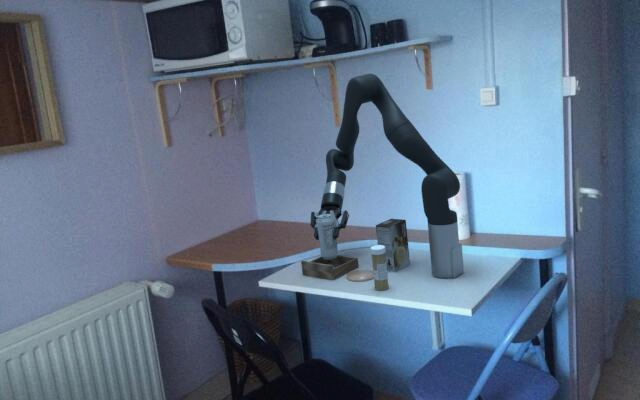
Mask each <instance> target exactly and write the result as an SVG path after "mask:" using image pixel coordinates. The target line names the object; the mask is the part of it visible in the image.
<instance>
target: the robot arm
mask: <svg viewBox="0 0 640 400" xmlns="http://www.w3.org/2000/svg"><path fill="white" fill-rule="evenodd" d="M345 90H346V91H345V95H344V103H343V111H342V118H341V119H342V120H341V125H340V127H339V131H338V134H337V137H336V139H335V145H336V148H337V149H336V148H331V149H329V150H328V151H327V153H326V155H325V164H326V166H325V167H326V170H327V171H326V172H327V173H326V174H327V177H326V180H325V186H324V189H323V193H322V199H321V203H320V210H319V211H317V212H315V211H311V212H310V224H309V225H310V227H311V228H312V230H313V231H314V232H313V237H314V238H315V240H316V241H319V237H318V229H317V222H316V221H317V219H318V216H319V215H322V214H331V216H332V217H333V219H334V225H335V228H334V232H333V238H334V240H337V239H338V238H339V236H340V231H341V230H342V229H343V230H344V229H346V228H347V224H348V221H349V217H350V212H349V211H348V210H347V209H346V210H344V211H343V210H342V209H343V204H344V198H345V189H346V183H347V182H346V181H347V174H346V173H345V172H348V171H350V170H352V168H353V167H354V163H355V155H354V154H355V146H356V144H357V140H358V139H359V134H360V123H359V121H358V120H359V119H358V113H359V111H360V109H361V106H362V105H363V104H368V103H370V102H371V103H372V104H373V105H374V106H375V107H376V109H377V110H378V112H379V113H380V114H381V119H382V126H383V132H384V136H385V137H386V139H387V140H388V142H389V143H390V145H391V146H392V147H393V149H395V151H396V152H397V153H398V154H400V155H401V156H402V157H404V158H406V159H407V160H409V161H410V162H412V163H414V164H415V165H417V166H418V167H420V169H422V171H423V172H424V173H425V174H426V175H425V176H424V178H423V179H422V181H421V185H420V186H421V198H422V207H423V211H424V215H425V217H426V220H427V229H428V242H429V255H430V266H431V267H430V269H431V275H432V276H433V277H435V278H440V279H452V278H453V279H456V278H457V277H458V276H460V275H462V274H463V273H465V270H464V256H463V244H462V243H460V237H459V223H458V214H457V212H456V211H455V210H453V209H450V204H449V199H452V198H453V197H455V196H457V195H458V194H459V193H460V190H461V182H460V179H459V178H458V175H457V174H456V173H455V172H454V170H452V168H450V167H449V166H448V164H446V163H445V161H444V160H442V159H441V158H440V156H439V155H438V154H437V153H436V152H435V151H434V149H433V148H432V147H431V146H430V145H429V144H428V142H427V141H426V140H425V139H424V137H423V136H422V135H421V133H420V132H419V131H418V129H417V128H416V127H415V126H414V124H413V123H412V122H411V121H410V120H409V119H408V117H407V116H406V115H405V114H404V112H403V111H402V109H401V108H400V107H399V105H398V104H397V103H396V101H395V100H394V99H393V97H392V95H391V94H390V92H389V91H388V88H386V86H385V85H384V82H383V81H382V80H381V78H379V76H377V75H376V74H374V73H366V74H365V73H364V74H361V75H357V76H355V77H352V78H350V80H348V82H347V85H346V89H345ZM339 218H341V221H340V223H339Z"/></svg>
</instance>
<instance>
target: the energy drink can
mask: <svg viewBox="0 0 640 400" xmlns="http://www.w3.org/2000/svg"><path fill="white" fill-rule="evenodd" d="M316 224H317V229H318V237H319V240H318V242H319V250H320V257H321V256H322V257H323V259H326V260H329V259H334V258H336V257H337V255H339V249H338V248H339V247H338V241H337V239H336V240H334V238H333V232H334V228H335V224H334V219H333V217H332V216H331V214H322V215H319V216H318V219H317V220H316Z"/></svg>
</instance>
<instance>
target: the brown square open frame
mask: <svg viewBox="0 0 640 400" xmlns="http://www.w3.org/2000/svg"><path fill="white" fill-rule="evenodd" d="M300 265H301V270H302V271H301V272H302V276H306V277H312V278H318V279H323V280H328V281H335V280H337V279H340V278H341V277H343V276H345V275H347V274H348V273H350V272H353V271H356V269H358V268H359V266H360V265H359V258H358V257H354V256H347V255H339V254H338V255H337V257H336V258H334V259H329V260H326V259H323V257H322V256H321V255H320V256H319V257H317V258H315V259H312V260H310V261H308V260H301V261H300ZM334 265H336V267H334Z"/></svg>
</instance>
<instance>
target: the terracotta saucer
mask: <svg viewBox="0 0 640 400" xmlns="http://www.w3.org/2000/svg"><path fill="white" fill-rule="evenodd" d="M345 278H346V279H347V280H348V281H349V282H353V283H355V282H357V283H359V282H361V283H362V282H367V281H371V280H374V275H373V269H358V270H356V269H355V270H353V271H351V272H349V273H347V274H346V277H345Z"/></svg>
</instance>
